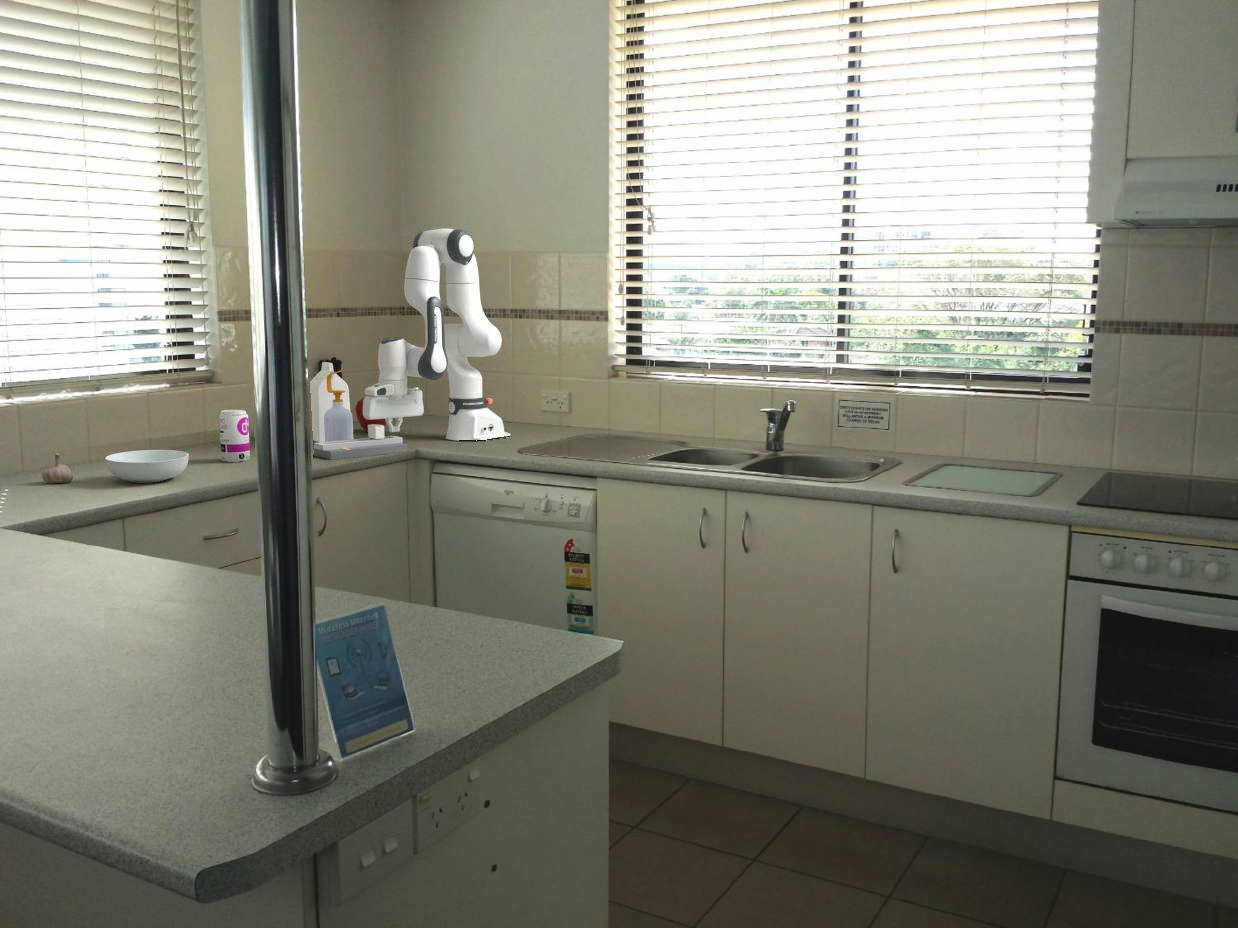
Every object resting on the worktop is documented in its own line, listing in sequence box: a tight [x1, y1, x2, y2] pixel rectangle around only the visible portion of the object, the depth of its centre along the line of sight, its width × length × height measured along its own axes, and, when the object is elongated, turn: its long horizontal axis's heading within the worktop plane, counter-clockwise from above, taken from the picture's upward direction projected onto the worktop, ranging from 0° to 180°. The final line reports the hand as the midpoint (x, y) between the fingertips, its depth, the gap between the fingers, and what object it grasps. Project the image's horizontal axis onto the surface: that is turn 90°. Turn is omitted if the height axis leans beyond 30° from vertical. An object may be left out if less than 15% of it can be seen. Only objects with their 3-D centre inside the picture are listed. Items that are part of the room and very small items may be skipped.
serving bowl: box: [104, 449, 190, 484], centre depth 305 cm, size 21×21×7 cm
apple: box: [354, 397, 387, 432], centre depth 403 cm, size 12×12×13 cm
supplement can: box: [218, 409, 251, 463], centre depth 338 cm, size 8×8×15 cm
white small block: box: [367, 424, 385, 440], centre depth 358 cm, size 3×5×6 cm, turn 40°
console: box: [312, 435, 408, 460], centre depth 355 cm, size 27×14×4 cm, turn 130°
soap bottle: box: [324, 369, 354, 442], centre depth 370 cm, size 9×9×25 cm
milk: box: [309, 361, 351, 443], centre depth 384 cm, size 12×12×26 cm
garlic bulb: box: [41, 453, 74, 484], centre depth 301 cm, size 8×7×8 cm
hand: (394, 431), depth 362 cm, fingers closed
